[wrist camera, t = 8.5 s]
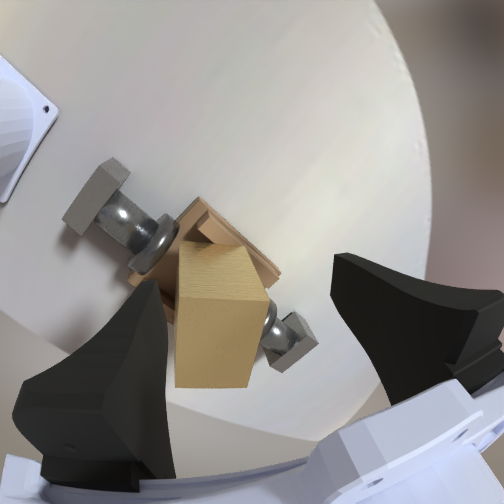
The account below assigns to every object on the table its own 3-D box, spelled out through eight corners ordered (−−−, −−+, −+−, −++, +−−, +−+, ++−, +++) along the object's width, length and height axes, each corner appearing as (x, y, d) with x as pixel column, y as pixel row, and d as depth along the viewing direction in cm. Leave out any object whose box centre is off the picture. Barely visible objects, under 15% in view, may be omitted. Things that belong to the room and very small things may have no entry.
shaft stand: (65, 223, 18) (43, 246, 14) (131, 135, 17) (117, 140, 13) (257, 359, 27) (268, 391, 23) (320, 306, 25) (340, 335, 22)
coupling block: (230, 323, 21) (246, 387, 16) (173, 320, 20) (175, 387, 15) (244, 246, 19) (270, 301, 13) (179, 240, 18) (179, 296, 12)
